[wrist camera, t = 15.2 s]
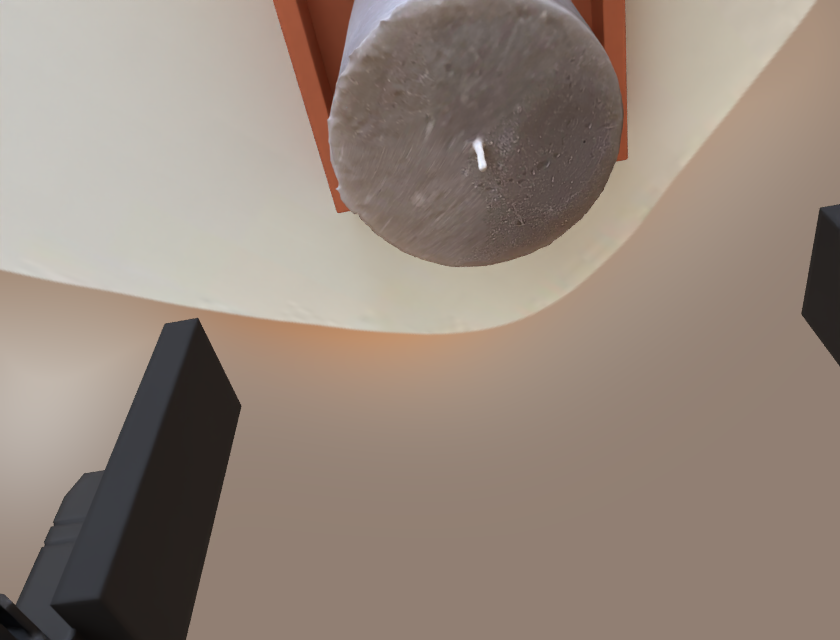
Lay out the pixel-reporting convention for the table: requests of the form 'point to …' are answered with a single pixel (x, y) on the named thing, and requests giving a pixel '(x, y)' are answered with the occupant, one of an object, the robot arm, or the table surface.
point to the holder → (325, 40)
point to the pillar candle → (472, 125)
